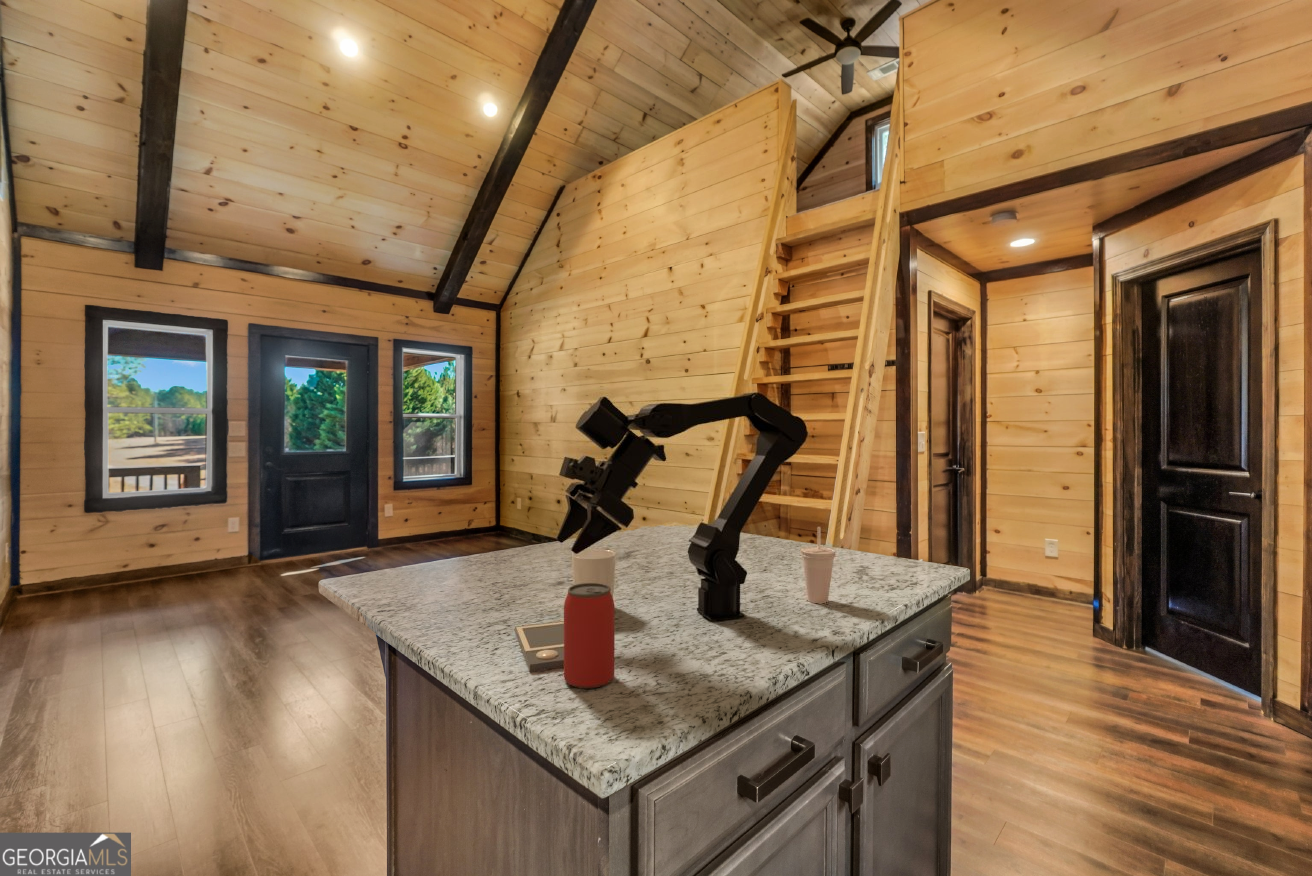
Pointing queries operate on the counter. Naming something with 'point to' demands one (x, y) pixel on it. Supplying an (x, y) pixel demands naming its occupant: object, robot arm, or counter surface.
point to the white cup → (594, 567)
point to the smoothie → (818, 571)
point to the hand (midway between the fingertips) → (565, 546)
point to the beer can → (589, 635)
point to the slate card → (542, 645)
